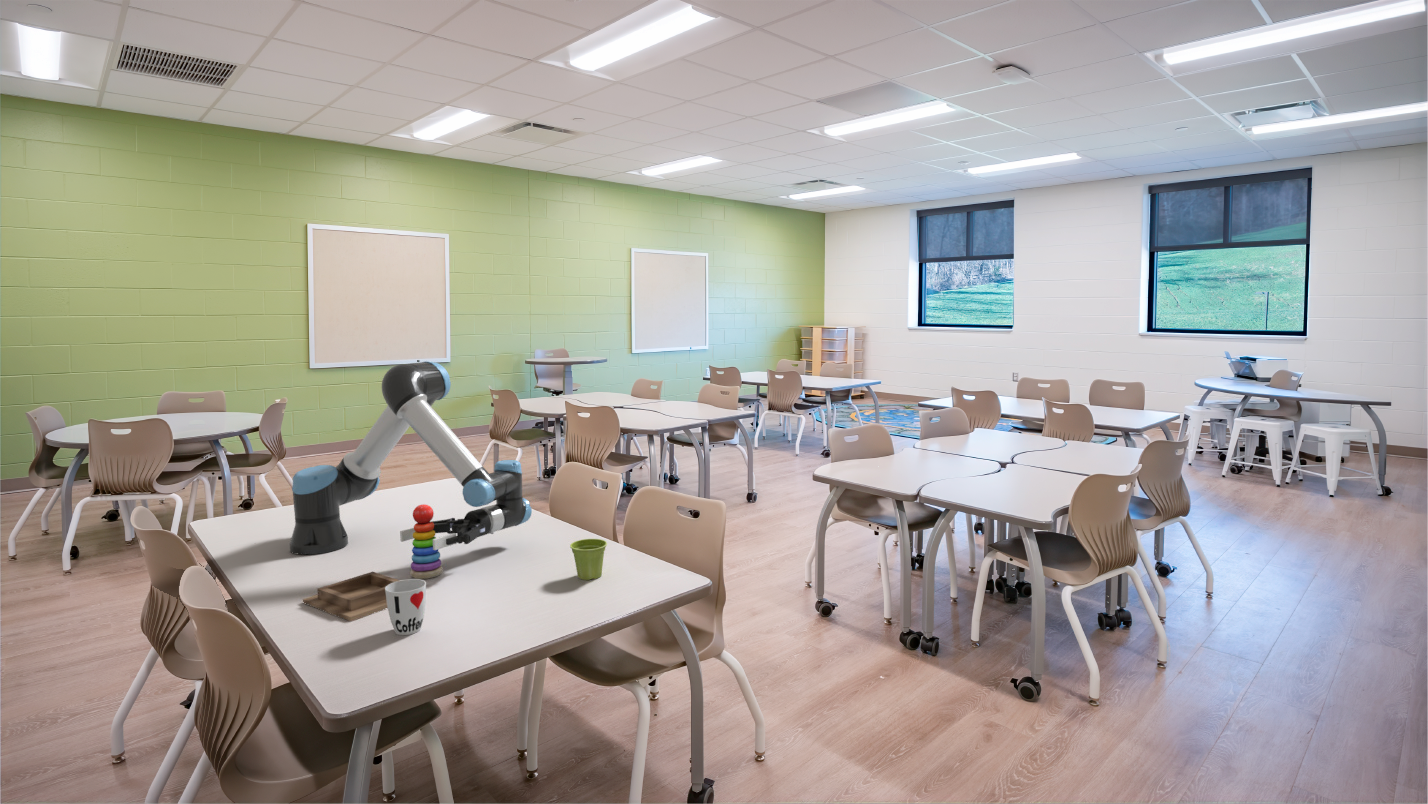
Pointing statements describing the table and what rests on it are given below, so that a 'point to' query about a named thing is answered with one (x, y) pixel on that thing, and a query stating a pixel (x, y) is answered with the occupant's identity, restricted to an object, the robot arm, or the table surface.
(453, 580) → the table surface
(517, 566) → the table surface
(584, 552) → the plant pot
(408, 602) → the cup
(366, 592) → the walnut jig
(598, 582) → the table surface
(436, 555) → the stacking toy
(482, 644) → the table surface
